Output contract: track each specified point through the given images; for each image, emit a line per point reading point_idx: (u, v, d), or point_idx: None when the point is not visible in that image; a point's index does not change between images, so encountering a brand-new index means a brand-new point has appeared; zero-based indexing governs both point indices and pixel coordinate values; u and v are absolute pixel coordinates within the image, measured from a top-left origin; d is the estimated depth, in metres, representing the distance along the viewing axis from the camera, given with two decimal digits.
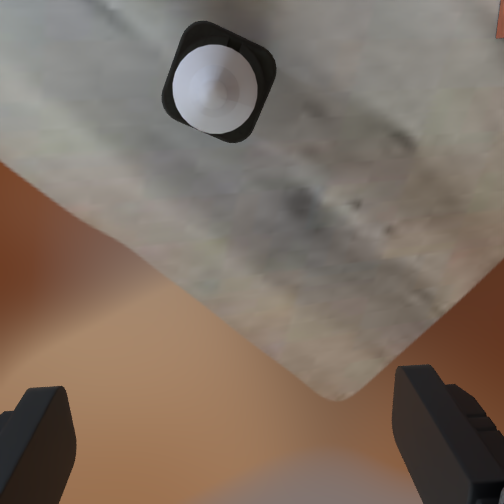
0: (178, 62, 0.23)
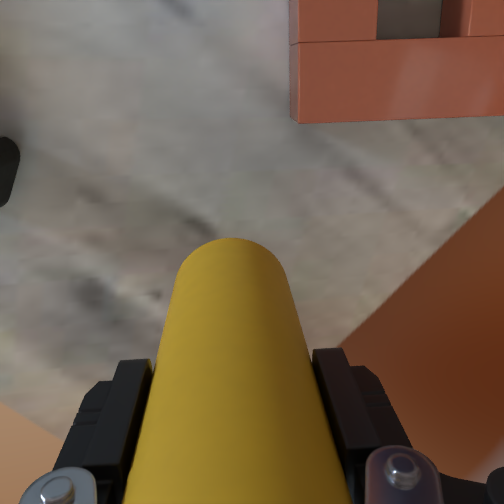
0: None
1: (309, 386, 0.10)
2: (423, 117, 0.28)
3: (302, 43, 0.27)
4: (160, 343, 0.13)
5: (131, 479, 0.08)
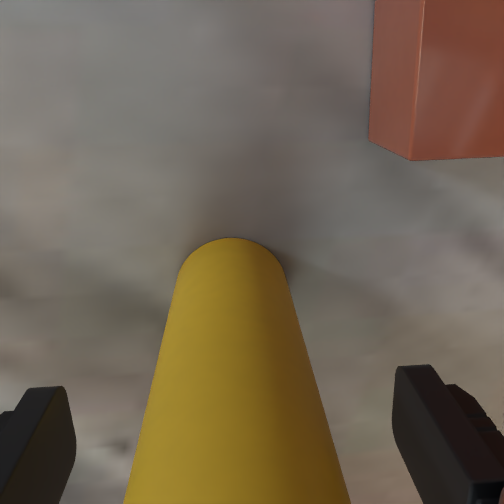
0: None
1: (307, 380, 0.11)
2: None
3: None
4: (162, 340, 0.13)
5: (136, 467, 0.09)
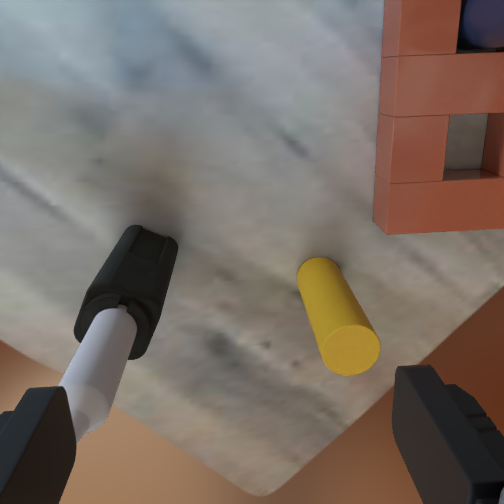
0: (82, 314, 0.31)
1: (356, 299, 0.38)
2: (473, 229, 0.41)
3: (392, 184, 0.39)
4: (306, 292, 0.41)
5: (318, 316, 0.36)
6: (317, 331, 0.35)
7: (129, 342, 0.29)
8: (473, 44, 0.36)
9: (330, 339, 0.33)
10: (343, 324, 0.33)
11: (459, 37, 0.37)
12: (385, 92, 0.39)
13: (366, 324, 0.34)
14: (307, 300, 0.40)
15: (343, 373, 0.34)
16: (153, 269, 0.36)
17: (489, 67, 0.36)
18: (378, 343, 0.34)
